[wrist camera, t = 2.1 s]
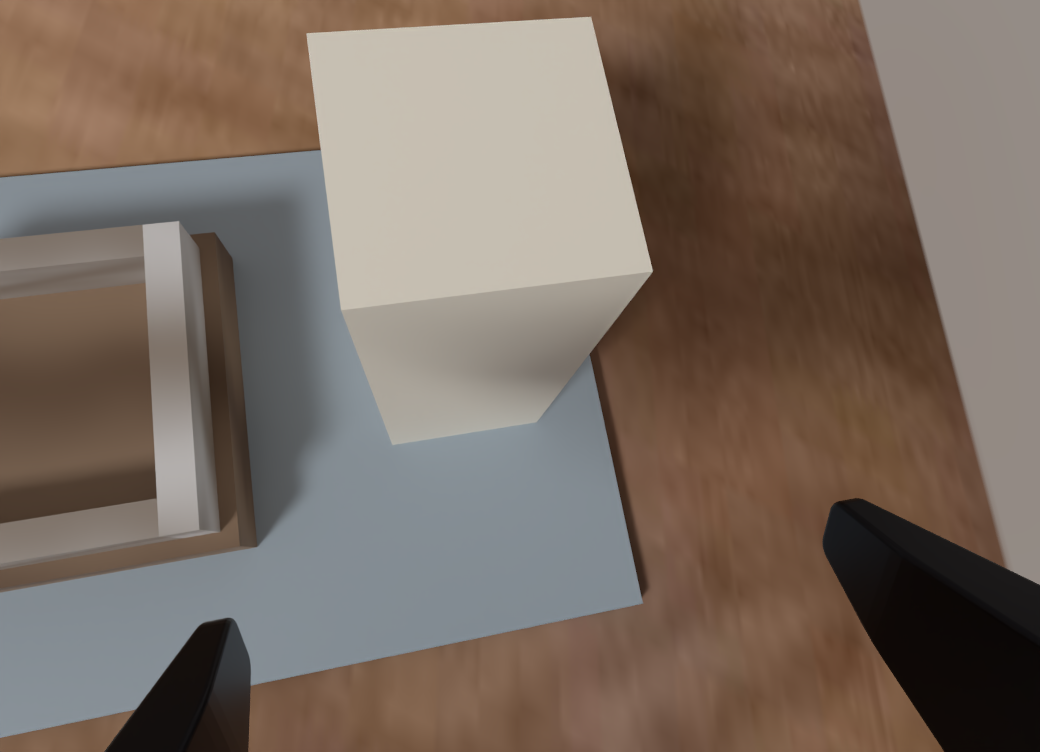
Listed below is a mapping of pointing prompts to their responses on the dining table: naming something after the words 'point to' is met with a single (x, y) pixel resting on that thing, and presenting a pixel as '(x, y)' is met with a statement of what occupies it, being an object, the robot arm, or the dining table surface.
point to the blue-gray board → (315, 479)
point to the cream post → (474, 214)
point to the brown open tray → (119, 404)
